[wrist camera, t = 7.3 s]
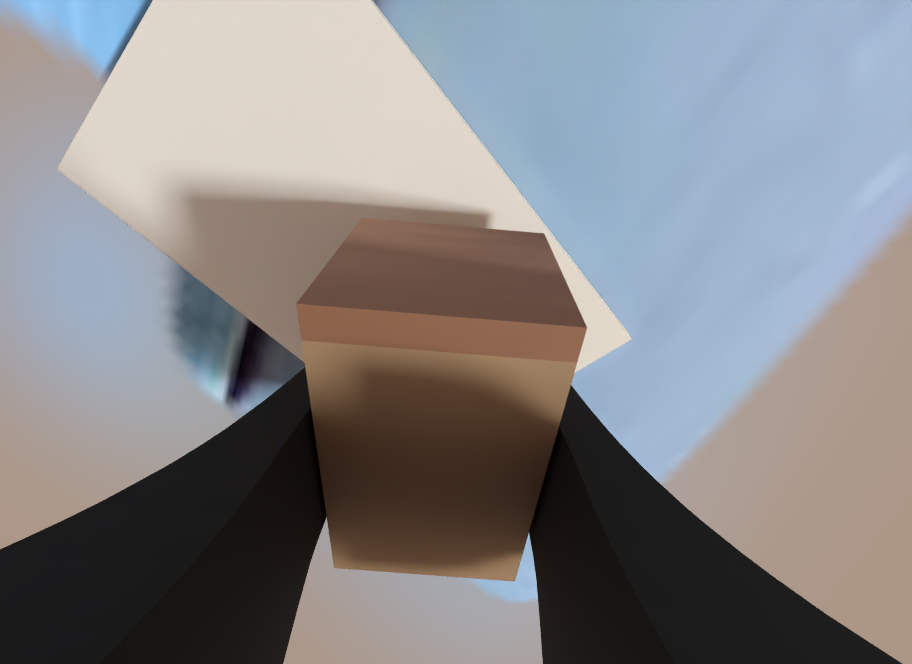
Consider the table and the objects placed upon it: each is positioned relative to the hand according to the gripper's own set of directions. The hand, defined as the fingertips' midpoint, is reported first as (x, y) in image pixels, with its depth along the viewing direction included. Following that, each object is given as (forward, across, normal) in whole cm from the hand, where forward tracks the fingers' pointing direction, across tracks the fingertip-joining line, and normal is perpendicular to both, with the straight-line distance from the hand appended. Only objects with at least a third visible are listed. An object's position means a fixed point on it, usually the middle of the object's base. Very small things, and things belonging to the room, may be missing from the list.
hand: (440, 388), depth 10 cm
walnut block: (+1, 0, 0) cm, 1 cm away
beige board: (+3, +2, -2) cm, 4 cm away
